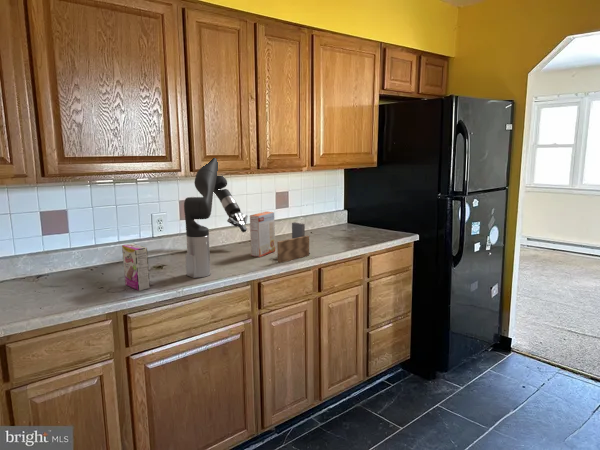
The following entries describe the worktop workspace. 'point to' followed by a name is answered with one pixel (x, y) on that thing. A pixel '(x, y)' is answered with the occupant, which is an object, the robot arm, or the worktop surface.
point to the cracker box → (262, 233)
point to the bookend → (298, 230)
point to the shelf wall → (293, 248)
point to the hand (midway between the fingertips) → (244, 231)
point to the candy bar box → (136, 266)
